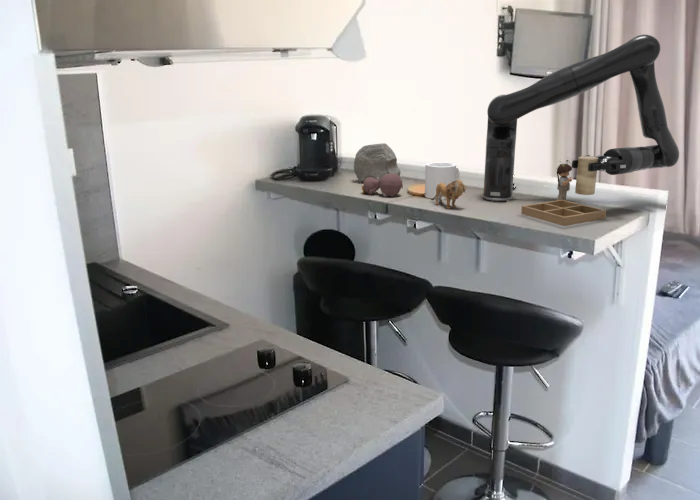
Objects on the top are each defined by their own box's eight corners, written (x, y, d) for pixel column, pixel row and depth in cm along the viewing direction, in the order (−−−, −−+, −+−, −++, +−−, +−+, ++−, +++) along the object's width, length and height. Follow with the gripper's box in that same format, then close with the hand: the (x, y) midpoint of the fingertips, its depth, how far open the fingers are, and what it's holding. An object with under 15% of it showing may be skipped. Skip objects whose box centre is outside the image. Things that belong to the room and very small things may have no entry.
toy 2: (569, 206, 197) (573, 158, 193) (551, 204, 200) (555, 157, 195) (574, 202, 202) (578, 156, 198) (556, 201, 205) (560, 154, 200)
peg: (573, 190, 183) (577, 156, 180) (592, 191, 182) (596, 156, 179) (576, 194, 178) (580, 159, 175) (596, 195, 177) (600, 159, 174)
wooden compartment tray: (521, 215, 187) (521, 205, 186) (561, 209, 194) (562, 199, 193) (563, 228, 173) (564, 217, 172) (605, 220, 180) (606, 210, 179)
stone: (350, 182, 239) (349, 142, 235) (361, 179, 244) (361, 140, 240) (391, 187, 228) (392, 145, 224) (402, 184, 234) (403, 143, 229)
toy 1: (364, 203, 220) (403, 201, 212) (355, 186, 215) (395, 183, 207) (371, 187, 225) (410, 184, 217) (363, 170, 220) (402, 167, 212)
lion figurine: (468, 208, 196) (469, 180, 193) (455, 211, 193) (456, 182, 190) (436, 200, 207) (437, 173, 205) (424, 202, 205) (425, 174, 202)
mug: (444, 190, 223) (445, 160, 220) (467, 194, 215) (469, 163, 212) (418, 195, 214) (419, 164, 211) (441, 200, 207) (442, 168, 204)
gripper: (603, 144, 189) (562, 149, 181) (645, 150, 177) (603, 155, 169) (601, 169, 191) (560, 175, 183) (642, 177, 179) (600, 183, 171)
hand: (581, 165), depth 176 cm, fingers closed on peg, 5 cm apart
